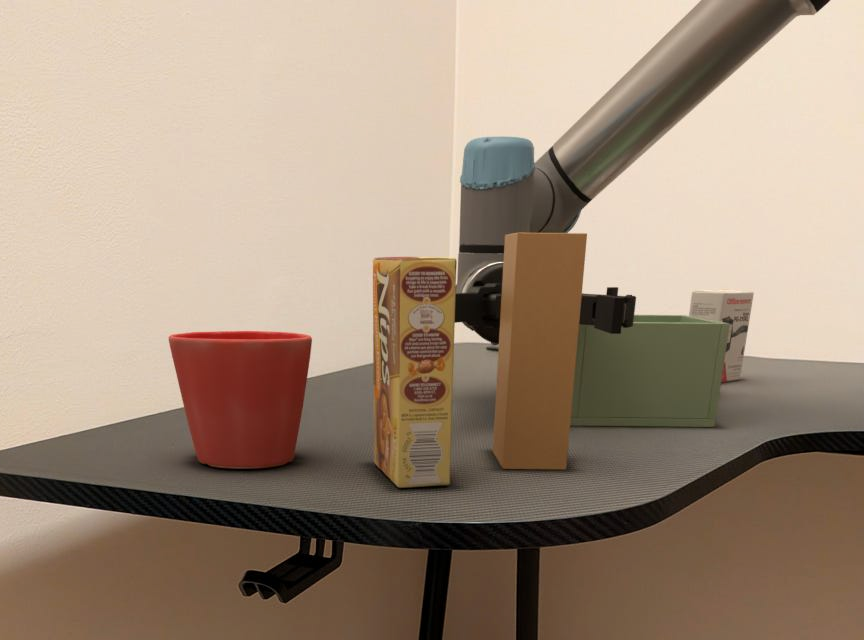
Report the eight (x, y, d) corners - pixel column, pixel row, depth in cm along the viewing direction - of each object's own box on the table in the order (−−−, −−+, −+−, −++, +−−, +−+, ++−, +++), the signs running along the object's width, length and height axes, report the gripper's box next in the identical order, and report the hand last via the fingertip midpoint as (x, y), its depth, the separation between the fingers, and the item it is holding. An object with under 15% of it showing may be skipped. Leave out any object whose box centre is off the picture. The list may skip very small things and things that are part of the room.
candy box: (452, 487, 65) (462, 257, 59) (395, 490, 65) (399, 256, 59) (420, 462, 73) (426, 256, 67) (369, 464, 72) (370, 256, 66)
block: (550, 452, 78) (568, 235, 71) (566, 469, 71) (587, 233, 65) (492, 451, 78) (504, 234, 71) (502, 469, 71) (517, 232, 65)
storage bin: (673, 406, 103) (685, 315, 99) (714, 427, 91) (730, 323, 87) (545, 405, 103) (552, 313, 99) (568, 425, 90) (578, 321, 87)
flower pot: (234, 442, 80) (228, 327, 76) (338, 456, 75) (337, 333, 71) (149, 463, 72) (137, 334, 68) (260, 480, 67) (254, 342, 63)
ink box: (712, 384, 122) (726, 290, 118) (678, 381, 125) (690, 289, 121) (741, 379, 128) (755, 289, 123) (708, 376, 131) (721, 288, 126)
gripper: (619, 343, 93) (682, 365, 74) (377, 340, 93) (375, 362, 74) (628, 264, 90) (695, 265, 71) (377, 261, 90) (376, 262, 71)
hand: (532, 315), depth 72 cm, fingers open, 13 cm apart
